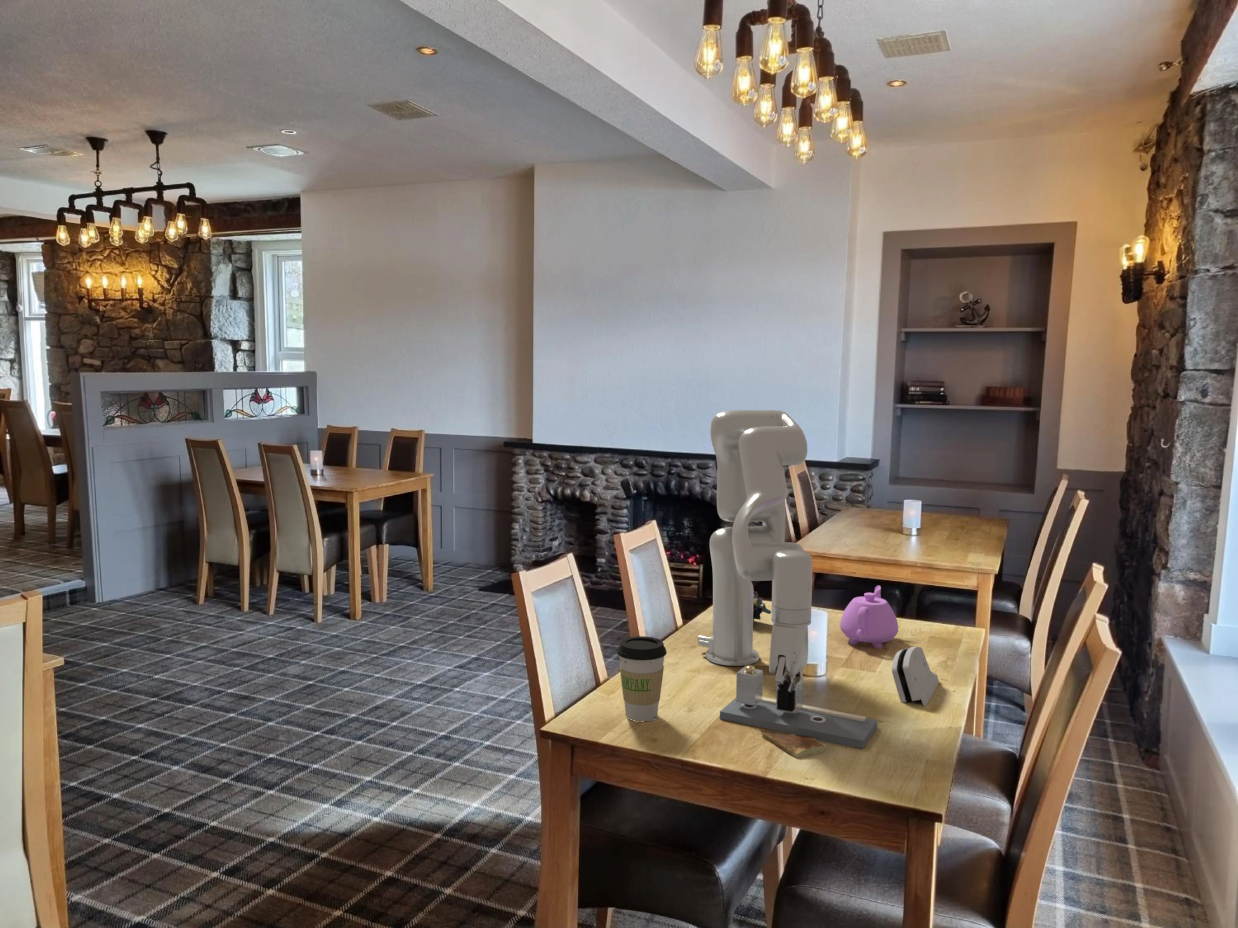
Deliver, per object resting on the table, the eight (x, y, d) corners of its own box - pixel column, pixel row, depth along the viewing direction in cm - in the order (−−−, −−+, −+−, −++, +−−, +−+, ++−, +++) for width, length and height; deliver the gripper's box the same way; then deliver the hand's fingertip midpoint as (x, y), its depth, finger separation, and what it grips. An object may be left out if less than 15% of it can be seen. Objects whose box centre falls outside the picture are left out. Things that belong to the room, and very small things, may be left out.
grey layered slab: (925, 706, 179) (909, 659, 180) (902, 709, 181) (887, 663, 182) (939, 681, 193) (925, 637, 194) (918, 684, 196) (904, 641, 196)
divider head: (776, 712, 170) (776, 674, 170) (782, 706, 174) (783, 668, 173) (796, 716, 168) (796, 678, 168) (802, 709, 172) (803, 672, 171)
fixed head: (736, 704, 175) (736, 667, 174) (743, 698, 178) (744, 662, 177) (755, 708, 173) (755, 671, 172) (762, 702, 176) (762, 665, 175)
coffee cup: (609, 711, 177) (609, 638, 175) (653, 703, 180) (653, 632, 179) (629, 729, 168) (629, 653, 166) (674, 721, 171) (675, 646, 170)
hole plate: (719, 718, 173) (719, 708, 172) (740, 700, 182) (740, 691, 182) (862, 748, 159) (862, 737, 159) (877, 727, 168) (877, 717, 168)
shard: (760, 738, 165) (760, 729, 165) (793, 731, 168) (793, 721, 168) (795, 761, 155) (795, 751, 155) (829, 753, 158) (830, 743, 158)
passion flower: (750, 640, 241) (777, 606, 240) (742, 644, 231) (770, 609, 229) (719, 613, 245) (745, 580, 243) (709, 616, 235) (737, 581, 233)
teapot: (851, 626, 235) (852, 581, 234) (906, 634, 228) (907, 587, 227) (830, 647, 218) (832, 598, 216) (889, 656, 211) (890, 605, 209)
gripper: (787, 602, 178) (785, 689, 180) (757, 622, 164) (755, 716, 166) (823, 606, 175) (821, 695, 176) (796, 628, 160) (794, 724, 162)
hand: (789, 704), depth 171 cm, fingers closed on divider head, 4 cm apart
